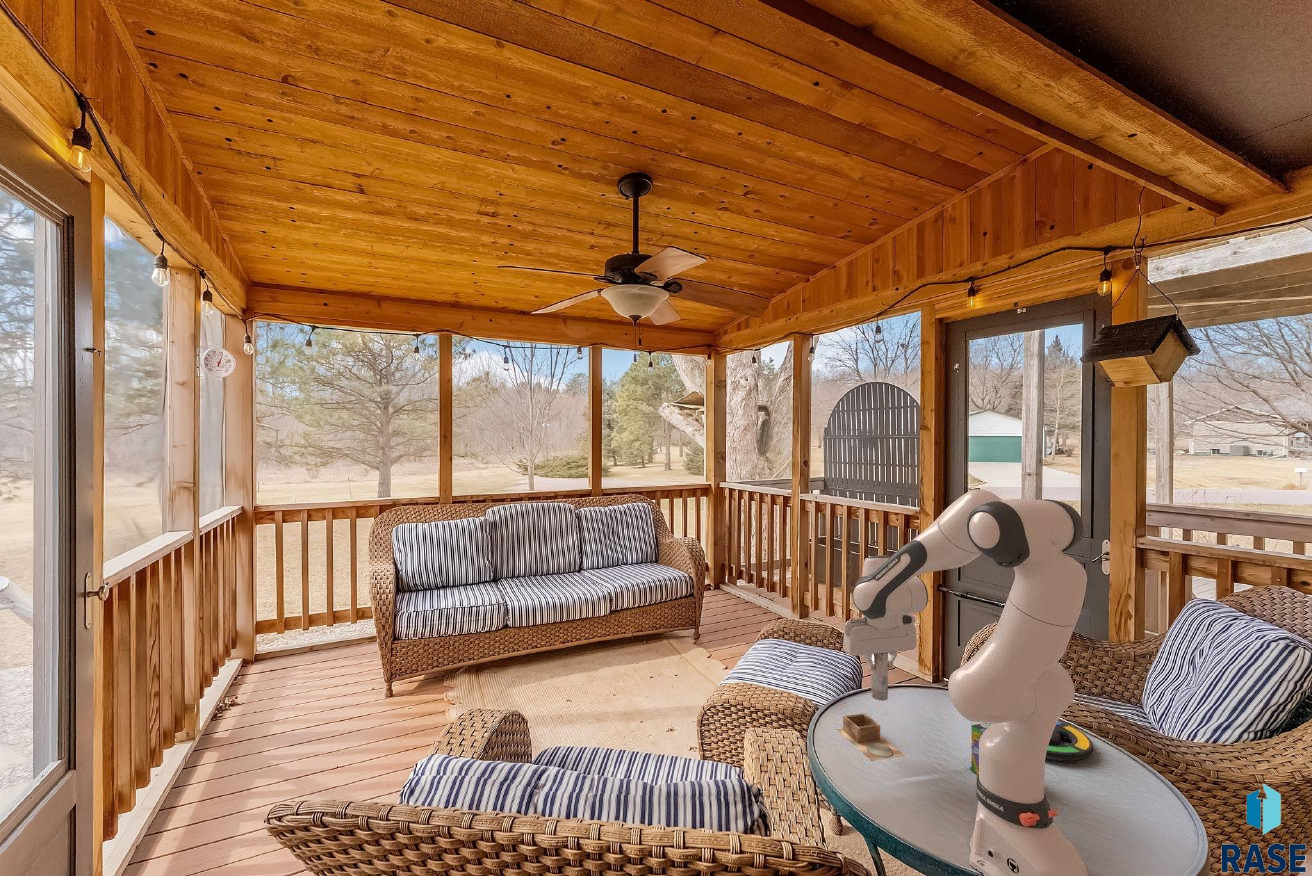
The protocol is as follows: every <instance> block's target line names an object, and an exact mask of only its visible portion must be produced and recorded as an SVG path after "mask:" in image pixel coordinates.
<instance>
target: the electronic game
mask: <svg viewBox="0 0 1312 876" xmlns="http://www.w3.org/2000/svg"><path fill="white" fill-rule="evenodd" d="M1064 737H1066V738H1067V739H1069V740H1070V741H1071V743H1070V744H1068V745H1067V744H1066V745H1061V743H1062V738H1064ZM1066 738H1065V739H1066ZM1067 739H1066V740H1067ZM1069 740H1068V741H1069ZM1070 741H1069V742H1070ZM1093 752H1094V744H1093V742H1092V740H1091V738H1090V737H1089V736H1087V734H1085V733H1084V732H1083V731H1081V730H1080V729H1078V728H1076V727H1074V726H1073V725H1071V724H1068V723H1066V722H1064V721H1061V720H1059V719H1058V722H1057V724H1056V726H1055V728H1054V731H1053V733H1052V736H1051V739H1050V742H1049V745H1048V748H1047V752H1046V758H1045V760H1049V761H1056V760H1058V761H1057V762H1072V761H1073V760H1074V761H1076V760H1080V759H1084V758H1087V757H1089V756H1091V755H1092V754H1093Z"/></svg>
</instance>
